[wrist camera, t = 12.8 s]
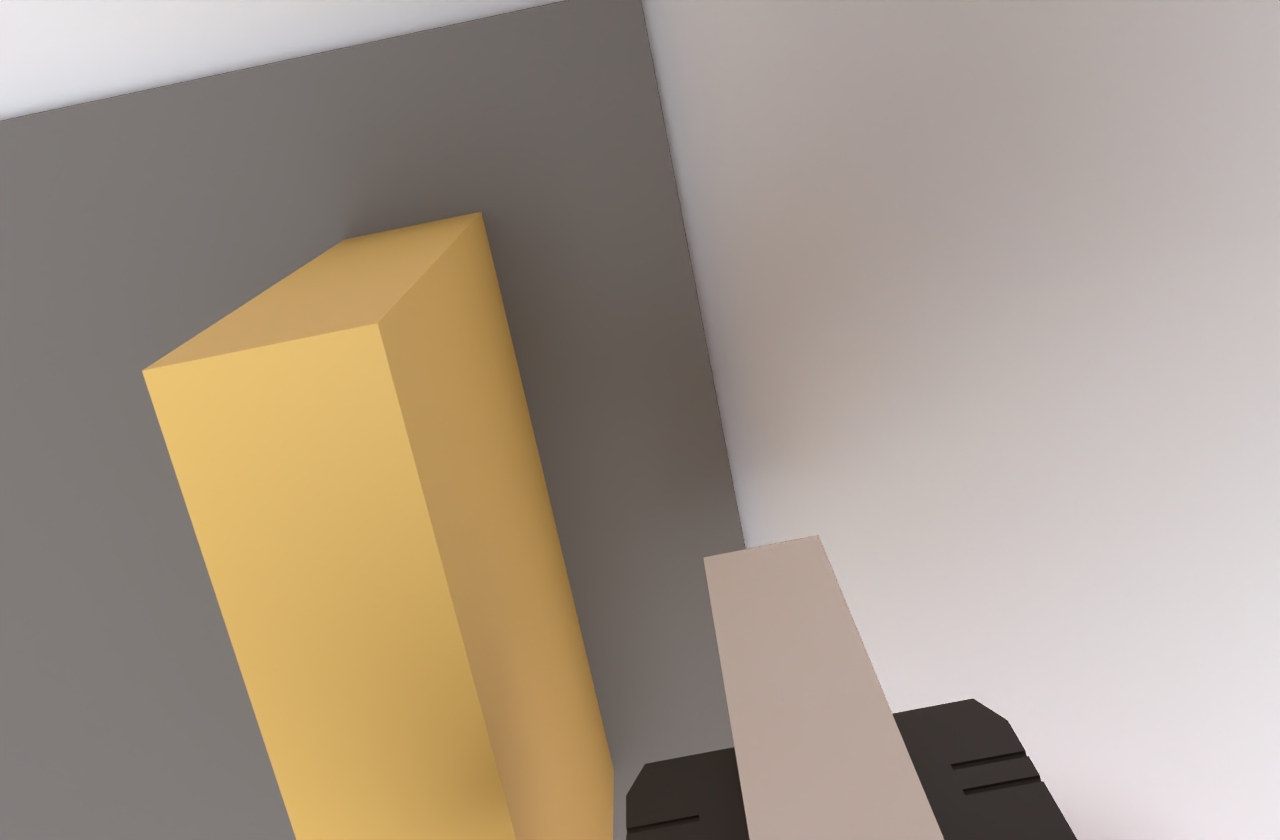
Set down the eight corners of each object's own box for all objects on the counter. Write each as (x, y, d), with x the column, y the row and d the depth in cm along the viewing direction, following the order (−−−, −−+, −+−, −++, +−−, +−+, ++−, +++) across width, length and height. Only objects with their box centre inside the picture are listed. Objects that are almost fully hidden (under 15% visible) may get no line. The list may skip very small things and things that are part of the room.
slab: (343, 239, 21) (141, 371, 12) (481, 211, 21) (377, 322, 12) (493, 792, 24) (418, 1211, 15) (613, 771, 24) (607, 1178, 15)
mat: (-334, 193, 21) (-360, 197, 20) (637, -13, 20) (638, -15, 20) (7, 992, 26) (-7, 1013, 25) (802, 850, 25) (805, 868, 24)
